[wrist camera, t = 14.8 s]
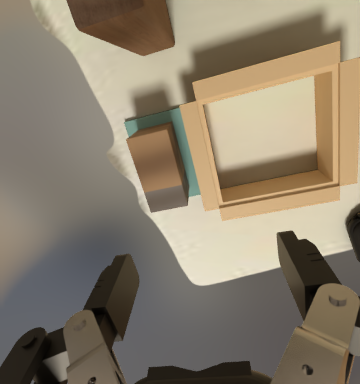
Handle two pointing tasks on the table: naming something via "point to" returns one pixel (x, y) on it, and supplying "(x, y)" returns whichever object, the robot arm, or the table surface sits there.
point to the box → (160, 166)
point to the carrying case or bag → (355, 234)
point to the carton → (325, 130)
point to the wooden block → (125, 23)
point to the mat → (182, 140)
